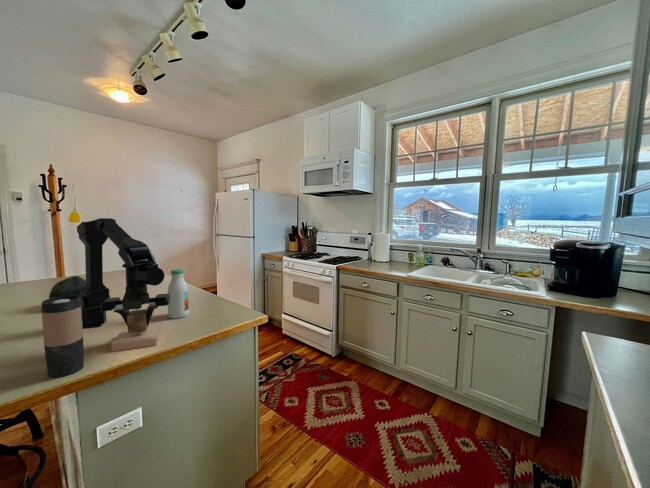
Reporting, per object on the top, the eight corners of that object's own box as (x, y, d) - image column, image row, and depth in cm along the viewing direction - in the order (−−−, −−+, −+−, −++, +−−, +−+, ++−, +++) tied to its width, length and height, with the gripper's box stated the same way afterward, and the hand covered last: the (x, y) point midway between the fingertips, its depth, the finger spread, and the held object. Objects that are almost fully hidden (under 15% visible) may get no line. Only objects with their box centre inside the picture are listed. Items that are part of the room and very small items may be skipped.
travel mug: (92, 362, 78) (88, 295, 76) (68, 378, 70) (62, 304, 68) (65, 362, 78) (60, 295, 76) (37, 378, 70) (31, 303, 68)
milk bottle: (179, 319, 111) (178, 272, 109) (163, 318, 112) (162, 270, 110) (192, 313, 118) (191, 268, 116) (177, 311, 120) (176, 267, 118)
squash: (51, 292, 125) (48, 272, 117) (93, 288, 135) (94, 269, 127) (49, 319, 118) (46, 299, 110) (94, 313, 128) (94, 294, 120)
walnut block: (127, 333, 89) (127, 315, 88) (131, 327, 93) (131, 310, 93) (145, 331, 91) (145, 313, 90) (148, 325, 95) (148, 309, 95)
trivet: (111, 351, 84) (111, 343, 84) (123, 335, 95) (122, 328, 95) (156, 345, 89) (156, 337, 89) (162, 330, 100) (162, 323, 100)
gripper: (91, 290, 79) (95, 340, 81) (165, 285, 87) (166, 332, 88) (105, 281, 89) (107, 326, 91) (169, 277, 97) (171, 319, 98)
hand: (138, 326), depth 92 cm, fingers closed on walnut block, 5 cm apart
